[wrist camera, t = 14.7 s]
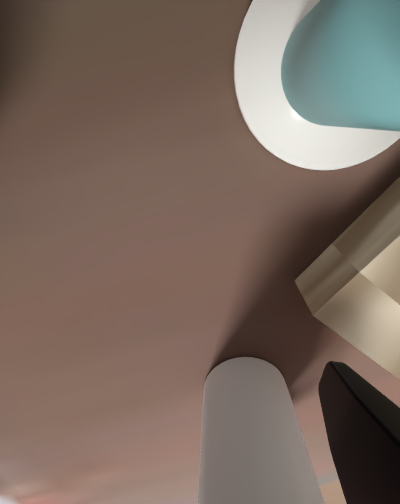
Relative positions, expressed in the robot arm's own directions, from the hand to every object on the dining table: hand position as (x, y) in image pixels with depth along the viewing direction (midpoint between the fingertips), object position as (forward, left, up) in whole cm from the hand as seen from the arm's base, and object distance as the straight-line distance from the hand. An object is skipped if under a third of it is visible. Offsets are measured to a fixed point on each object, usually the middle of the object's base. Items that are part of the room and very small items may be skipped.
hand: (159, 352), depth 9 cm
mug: (+13, -9, -12) cm, 20 cm away
